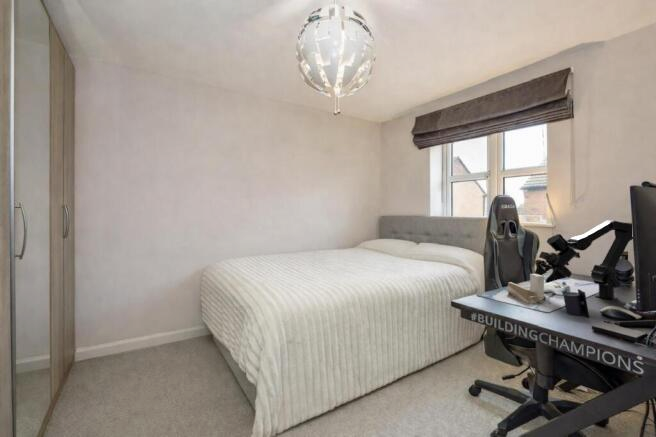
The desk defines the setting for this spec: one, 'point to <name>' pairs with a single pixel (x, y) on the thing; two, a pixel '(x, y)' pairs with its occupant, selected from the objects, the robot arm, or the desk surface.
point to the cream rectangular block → (537, 284)
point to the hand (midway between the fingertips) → (539, 279)
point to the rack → (523, 293)
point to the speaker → (576, 303)
